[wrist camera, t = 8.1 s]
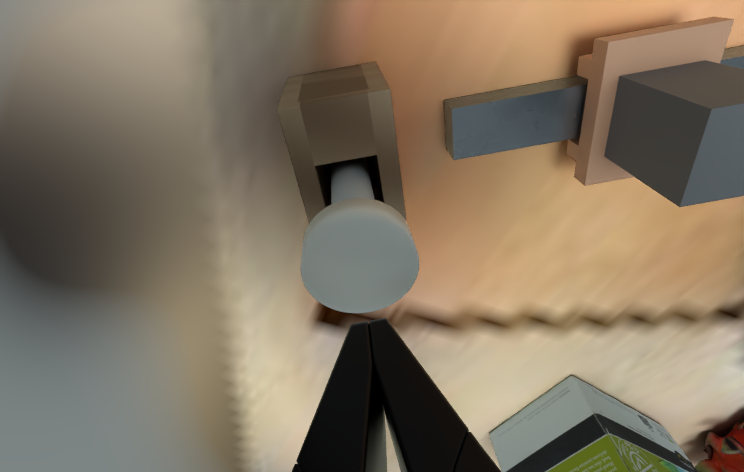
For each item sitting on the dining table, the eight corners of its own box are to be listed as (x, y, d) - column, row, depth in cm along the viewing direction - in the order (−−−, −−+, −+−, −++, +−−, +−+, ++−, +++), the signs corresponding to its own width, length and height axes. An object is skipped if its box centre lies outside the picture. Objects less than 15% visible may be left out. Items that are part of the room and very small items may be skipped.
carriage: (658, 151, 21) (780, 218, 15) (564, 168, 21) (651, 241, 15) (695, 14, 17) (872, 35, 12) (581, 35, 17) (704, 66, 12)
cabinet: (394, 201, 22) (410, 255, 18) (323, 214, 22) (322, 270, 18) (375, 61, 18) (390, 89, 14) (288, 77, 18) (276, 109, 14)
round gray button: (392, 194, 18) (423, 302, 12) (319, 207, 18) (316, 321, 12) (382, 122, 16) (413, 209, 11) (301, 137, 17) (286, 232, 11)
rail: (782, 88, 21) (811, 95, 19) (446, 148, 21) (453, 160, 19) (804, 34, 19) (837, 39, 18) (443, 99, 19) (452, 108, 18)
